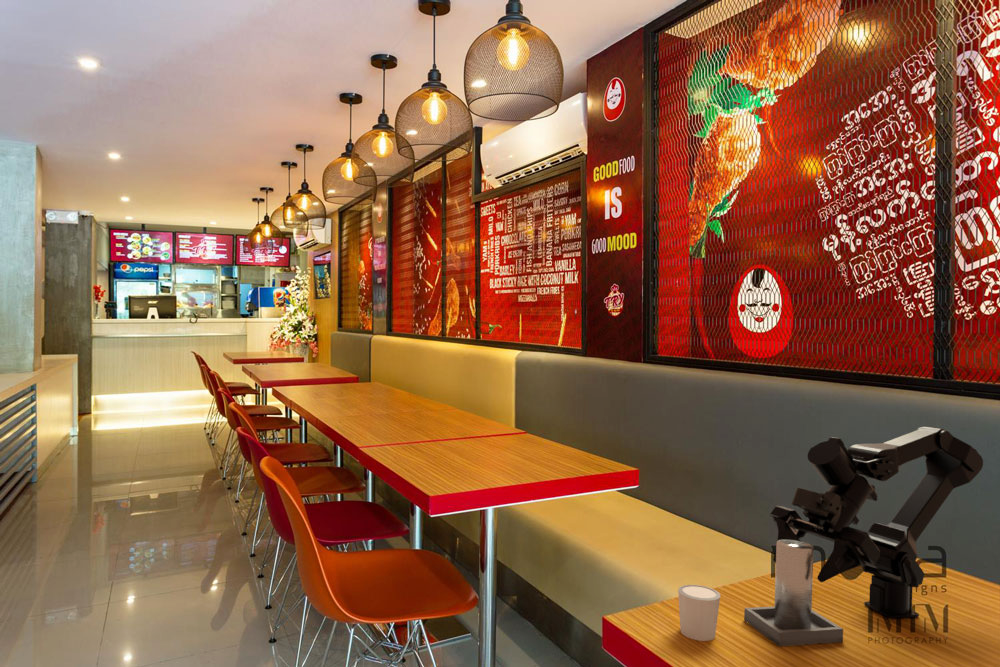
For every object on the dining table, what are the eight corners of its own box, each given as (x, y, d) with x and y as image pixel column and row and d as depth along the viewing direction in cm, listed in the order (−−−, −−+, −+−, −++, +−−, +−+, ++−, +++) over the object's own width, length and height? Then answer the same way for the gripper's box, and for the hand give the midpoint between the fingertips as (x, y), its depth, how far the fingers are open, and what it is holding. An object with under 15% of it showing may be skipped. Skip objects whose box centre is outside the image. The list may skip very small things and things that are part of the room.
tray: (803, 617, 117) (803, 604, 117) (842, 642, 107) (843, 628, 107) (744, 620, 114) (744, 608, 114) (778, 646, 105) (779, 632, 105)
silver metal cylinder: (787, 616, 115) (790, 537, 115) (818, 629, 110) (820, 547, 110) (766, 622, 112) (769, 541, 112) (797, 636, 107) (799, 551, 107)
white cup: (722, 645, 104) (723, 601, 104) (678, 639, 106) (679, 596, 106) (716, 627, 111) (717, 586, 111) (675, 622, 112) (676, 582, 113)
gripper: (778, 462, 122) (732, 526, 117) (870, 483, 105) (820, 559, 100) (807, 501, 125) (763, 564, 120) (900, 527, 108) (853, 602, 103)
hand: (796, 571), depth 111 cm, fingers open, 9 cm apart
